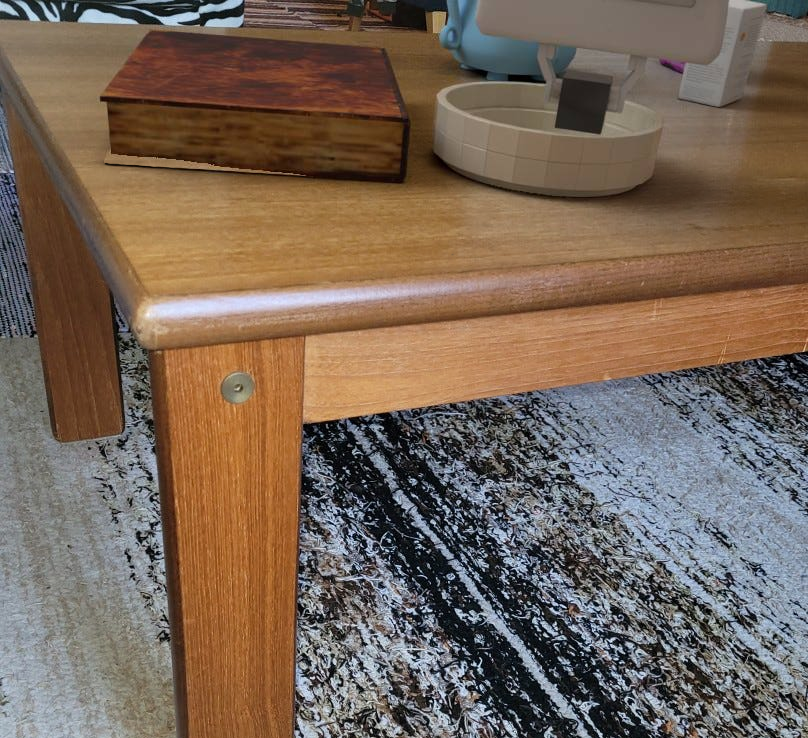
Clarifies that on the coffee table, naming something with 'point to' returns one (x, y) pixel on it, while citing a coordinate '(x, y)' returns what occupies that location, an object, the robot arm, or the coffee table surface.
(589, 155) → the bowl
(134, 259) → the coffee table surface
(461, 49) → the decorative pot
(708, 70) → the small box
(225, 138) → the book
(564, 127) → the block
